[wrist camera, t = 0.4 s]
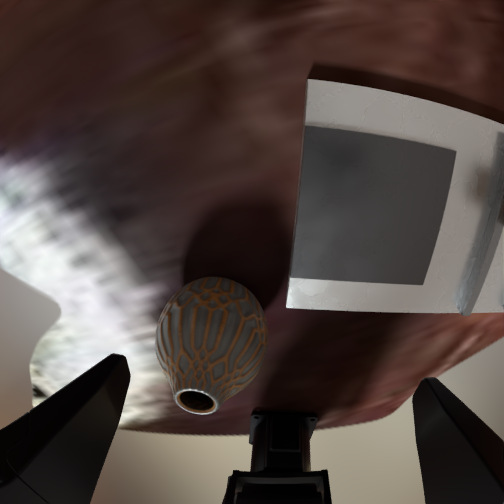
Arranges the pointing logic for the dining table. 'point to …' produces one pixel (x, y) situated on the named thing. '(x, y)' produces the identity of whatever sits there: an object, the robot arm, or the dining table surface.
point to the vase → (210, 342)
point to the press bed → (396, 205)
